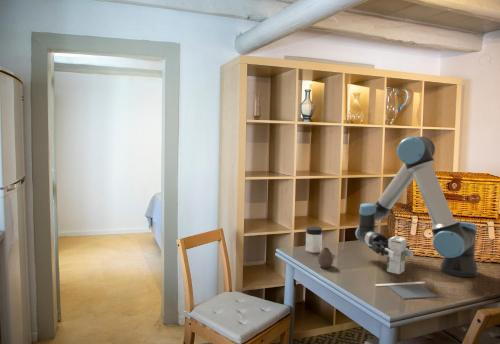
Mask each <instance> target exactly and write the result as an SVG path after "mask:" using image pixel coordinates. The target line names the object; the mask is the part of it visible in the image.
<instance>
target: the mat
mask: <svg viewBox="0 0 500 344" xmlns="http://www.w3.org/2000/svg"><path fill="white" fill-rule="evenodd" d="M386 287H387V288H388V289H390V290H391V291H392V292H393V293H395V294H396V295H397V296H399V297H400V298H402V300H413V299H414V300H415V299H426V298H427V299H428V298H438V296H437V295H436V294H435V293H434V292H432V291H430V290H428V289H427V288H425V287H424V286H422V284H411V285H394V286H386Z"/></svg>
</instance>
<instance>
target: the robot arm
mask: <svg viewBox="0 0 500 344" xmlns="http://www.w3.org/2000/svg"><path fill="white" fill-rule="evenodd" d="M396 149H397V150H396V154H397V156H398V159H399V160H400V161H401V162H403V164H402V166H401V167H400V169H399V170H398V171H397V173H396V174H395V176H394V177H393V178H392V180H391V181H390V183H389V184H388V186H387V187H386V189H384V191H383V192H382V194H381V195H380V197H379V198H378V200H377V201H376V202H375V204H374V203H368V202H367V203H365V202H364V203H361V204H360V205H359V211H358V213H359V218H358V219H359V221H358V222H359V223H358V224H359V225H358V227H357V228H356V230H355V237H356V239H357V240H359V241H360V242H361V243H363V244H365V245H366V246H368V248H369V249H371V250H372V251H373V252H375V254H378V255H379V254H380V256H386V257H387V256H388V257H390V258H392V259H394V252H393V251H391V250H389V249H388V240H389V239H388V238H387V237H386V236H385V235H384V234H381V233H379V232H377V231H376V222H377V221H380V220H383V219H387V217H388V216H389V215H390V211H391V210H392V208H393V207H394V205H395V204H396V203H397V201H398V200H399V199H400V197H401V196H402V195H403V193H404V192H405V190H406V189H407V188H408V187H409V185H410V184H411V182H412V181H414V180H415V183H416V184H417V185H416V186H417V188H418V190H419V193H420V195H421V198H422V200H423V203H424V204H425V208H426V210H427V213H428V215H429V217H430V221H431V223H432V226H431V228H430V231H431V233H432V235H433V239H432V245H433V248H434V250H435V251H436V253H437V254H439V255H441V256H442V257H443V258H442V261H441V262H440V266H439V267H440V268H439V269H440V271H441V272H443V273H445V274H447V275H450V276H454V277H459V278H475V277H477V276H478V275H479V274H478V273H479V270H478V267H477V262H476V259H475V254H476V253H475V252H476V251H475V250H476V240H477V239H476V238H477V232H478V231H477V230H478V229H477V225H476V224H475V223H471V222H468V221H467V222H466V221H459V220H458V219H456V218H454V216H453V213H452V211H451V208H450V207H449V203H448V201H447V199H446V195H445V194H444V191H443V189H442V186H441V183H440V182H439V179H438V177H437V174H436V172H435V170H434V167H433V165H434V163H435V159H434V156H435V153H436V145H435V144H434V142H433V140H431V139H430V138H428V137H427V136H415V135H413V136H410V137H406V138H404V139H402V140H401V141H400V142H399V144H398V146H397V148H396ZM406 257H409V258H411V259H414V251H412V250H411V249H410V246H409V245H406Z"/></svg>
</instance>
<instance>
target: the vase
mask: <svg viewBox="0 0 500 344" xmlns="http://www.w3.org/2000/svg"><path fill="white" fill-rule="evenodd" d="M317 262H318V264H319V265H320V267H321V268H325V269H327V268H328V269H329V268H330V267H332V266H333V263H334V255H333V253H332V251H330V249H329V247H326V246H325V247H323V248H322V250H321V252H319V253H318V256H317Z"/></svg>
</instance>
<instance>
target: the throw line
mask: <svg viewBox="0 0 500 344" xmlns="http://www.w3.org/2000/svg"><path fill="white" fill-rule="evenodd" d="M417 284H419V285H425V284H426V282H425V281H413V282H410V281H409V282H397V283H396V282H392V283H377V284H374V285H375V286H376V287H387V286H399V285H417Z"/></svg>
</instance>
